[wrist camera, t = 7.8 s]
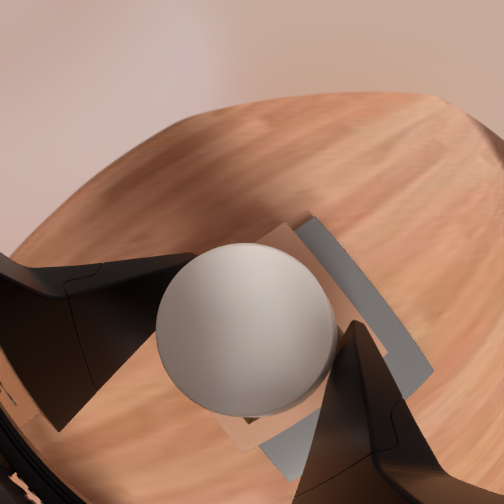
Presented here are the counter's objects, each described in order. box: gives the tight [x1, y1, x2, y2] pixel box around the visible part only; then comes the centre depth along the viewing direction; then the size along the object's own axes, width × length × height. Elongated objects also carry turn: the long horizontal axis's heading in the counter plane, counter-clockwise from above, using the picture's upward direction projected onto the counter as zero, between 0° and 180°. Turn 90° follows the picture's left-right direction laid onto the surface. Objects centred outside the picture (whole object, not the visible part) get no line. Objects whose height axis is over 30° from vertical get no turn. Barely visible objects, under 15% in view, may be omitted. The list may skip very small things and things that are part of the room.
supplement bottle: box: [156, 243, 338, 417], centre depth 10 cm, size 5×5×10 cm
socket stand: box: [209, 217, 434, 482], centre depth 15 cm, size 14×12×4 cm
